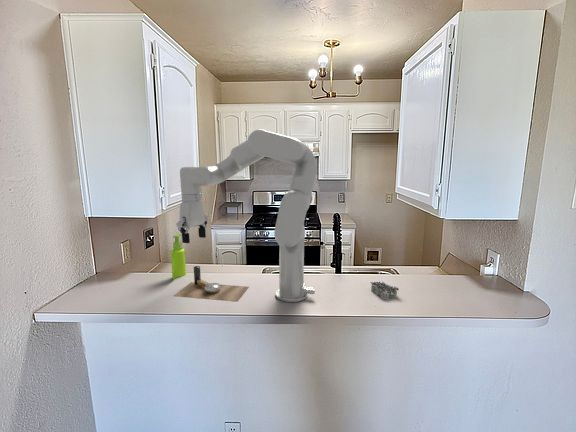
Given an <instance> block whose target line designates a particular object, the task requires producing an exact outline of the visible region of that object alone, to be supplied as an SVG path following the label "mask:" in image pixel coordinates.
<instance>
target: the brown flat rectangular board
mask: <svg viewBox="0 0 576 432" xmlns="http://www.w3.org/2000/svg"><path fill="white" fill-rule="evenodd" d="M249 288H250V286H245V285H244V286H243V285H230V284H220V291H219V292H217V293H213V294H209V293H206V292H205V287H204V286H202V285H200V284H194V281H193V282H189V284H187V285H186V286H185V287H182V288H181V289H180V290H178V292H177V293H175V294H174V295H173V297H181V298H191V299H204V300H216V301H223V302H224V301H225V302H237V303H238V302H239V300H240V299H242V297H243V296H244V295H245V293H246V292H247V291H248V290H249Z"/></svg>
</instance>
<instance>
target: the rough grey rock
mask: <svg viewBox="0 0 576 432" xmlns="http://www.w3.org/2000/svg"><path fill="white" fill-rule="evenodd" d="M369 283H370V285H371V287H370V289H371V292H373V291H375V295H377V294H379V295H378V296H380V298H381V299H385V298H386V300H389V299H390V298H392V297H394V298H393V299H396V298H397V296H398V291H399V290H400V289H399V287H397V286H393V285H391V284H388V283H387V284H386V283H385V282H384V281H382V282H381V281H374V282H373V281H369ZM384 288H385V289H384ZM385 290H386V291H385ZM387 291H390V292H387ZM395 297H396V298H395Z"/></svg>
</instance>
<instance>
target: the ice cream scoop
mask: <svg viewBox="0 0 576 432" xmlns="http://www.w3.org/2000/svg"><path fill="white" fill-rule="evenodd" d="M201 275H202V274H201V266H200V265H195V266H193V279H194V280H193V282H194V284H200V285H202V286H204V287H205V292H206V293H209V294H213V293H217V292H219V291H220V285H221V284H220V283H218V282H208V281H205V280H203V279H201Z"/></svg>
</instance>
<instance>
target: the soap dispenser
mask: <svg viewBox="0 0 576 432" xmlns="http://www.w3.org/2000/svg"><path fill="white" fill-rule="evenodd" d="M180 237H182V233H180V234H179V233H176V234H175V235H173V238H174V242H172V243H173V248H172V249H171V250H170V260H171V273H172V280H176V279H177V278H182V277H184V276H186V275H187V269H186V253H185V252H186V251H185V250H186V249H185V248H182V241H180Z"/></svg>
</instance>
